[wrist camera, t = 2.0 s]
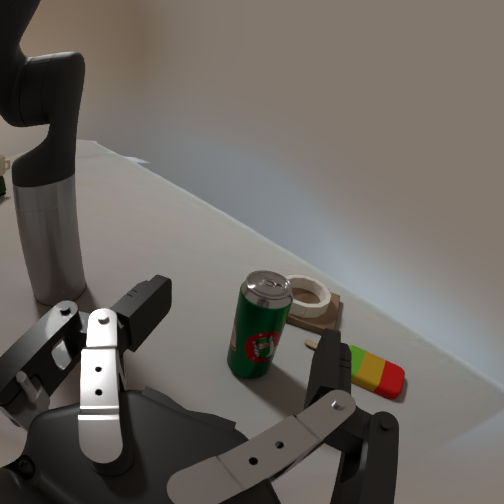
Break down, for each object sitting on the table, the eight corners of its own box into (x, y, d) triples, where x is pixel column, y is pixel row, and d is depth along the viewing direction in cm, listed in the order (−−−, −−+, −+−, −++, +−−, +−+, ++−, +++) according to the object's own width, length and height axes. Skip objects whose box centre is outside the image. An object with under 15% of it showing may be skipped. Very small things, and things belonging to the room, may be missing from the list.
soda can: (236, 343, 34) (253, 262, 28) (274, 357, 33) (301, 278, 27) (219, 371, 29) (233, 287, 24) (261, 387, 28) (289, 307, 23)
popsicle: (394, 404, 28) (401, 396, 27) (295, 357, 34) (299, 347, 33) (400, 376, 32) (407, 368, 31) (311, 334, 38) (315, 325, 37)
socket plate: (253, 309, 40) (257, 293, 39) (273, 278, 49) (277, 263, 47) (331, 337, 37) (338, 322, 36) (338, 300, 46) (344, 286, 44)
